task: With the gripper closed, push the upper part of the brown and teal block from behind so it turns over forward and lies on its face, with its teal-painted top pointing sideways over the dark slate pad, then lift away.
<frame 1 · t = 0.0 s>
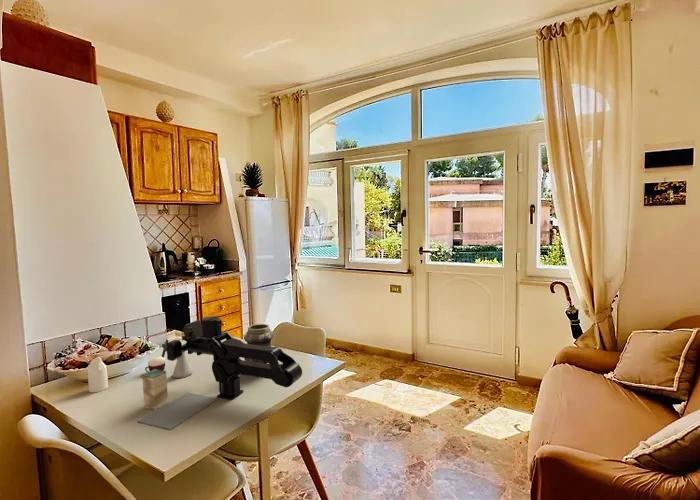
hand: (172, 341, 139), 17 cm above the table, tool horizontal, fingers open, 9 cm apart
flask: (182, 375, 150), on the table
white tapered piece: (98, 389, 139), on the table
cocoa: (158, 372, 153), on the table
apothecary jar: (260, 370, 153), on the table
brown and teal block: (156, 404, 125), on the table
slate pad: (179, 409, 122), on the table
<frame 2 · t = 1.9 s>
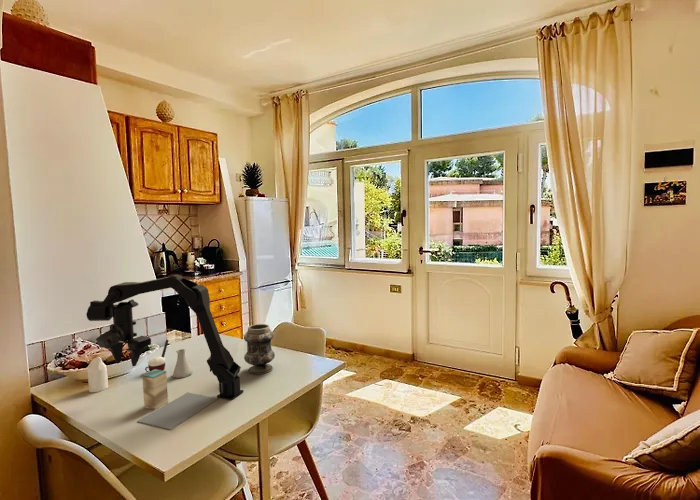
hand: (126, 364, 129), 12 cm above the table, tool pointing down, fingers open, 7 cm apart
nothing on the table moved.
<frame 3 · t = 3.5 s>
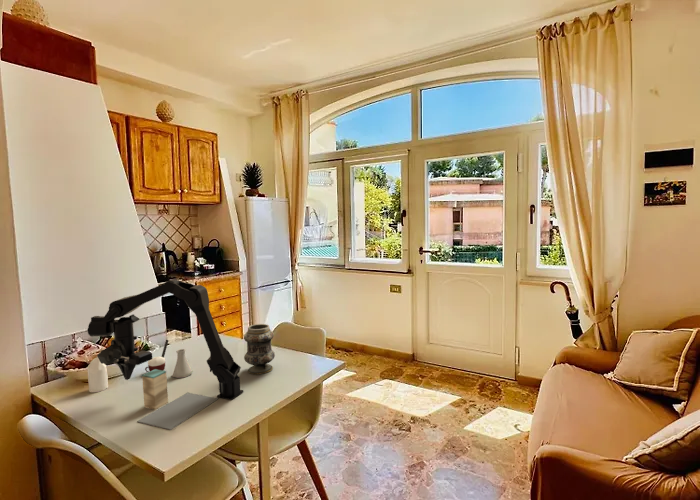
hand: (127, 379, 130), 7 cm above the table, tool pointing down, fingers closed
nothing on the table moved.
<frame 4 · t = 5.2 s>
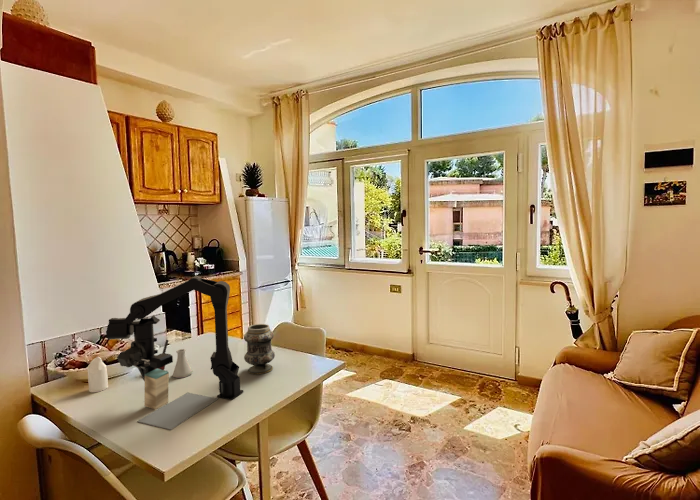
hand: (146, 382, 126), 7 cm above the table, tool pointing down, fingers closed
brown and teal block: (156, 404, 125), on the table, tilted 6°, touching gripper
everything else where it was.
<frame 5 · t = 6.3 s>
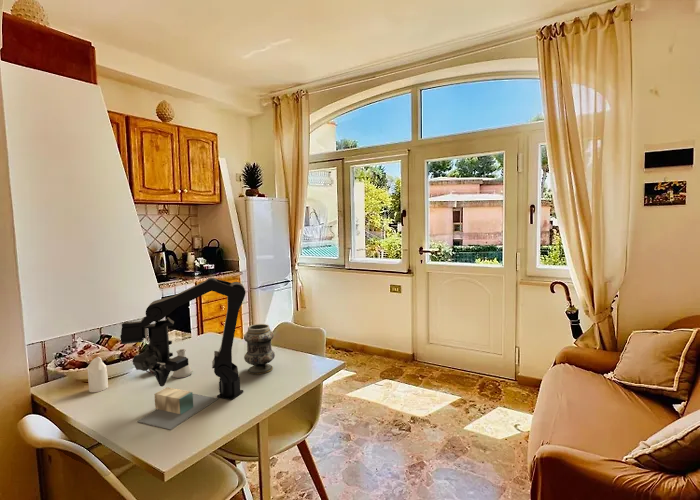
hand: (162, 386, 124), 7 cm above the table, tool pointing down, fingers closed
brown and teal block: (161, 397, 124), point 3 cm above the table, tilted 90°, touching slate pad
everything else where it was.
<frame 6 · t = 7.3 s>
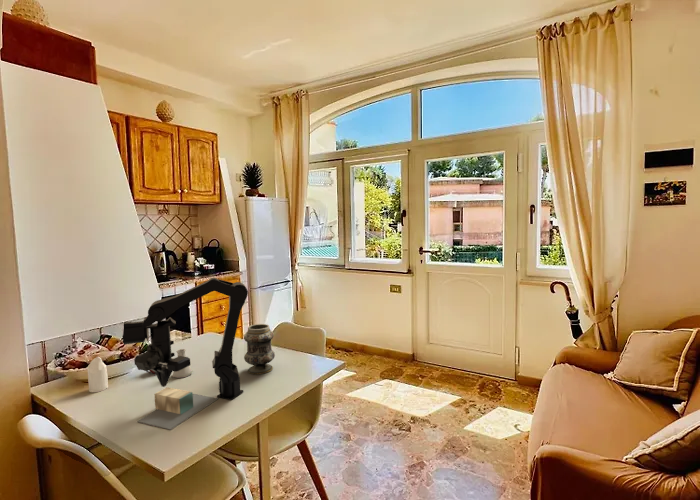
hand: (163, 386, 123), 7 cm above the table, tool pointing down, fingers closed
nothing on the table moved.
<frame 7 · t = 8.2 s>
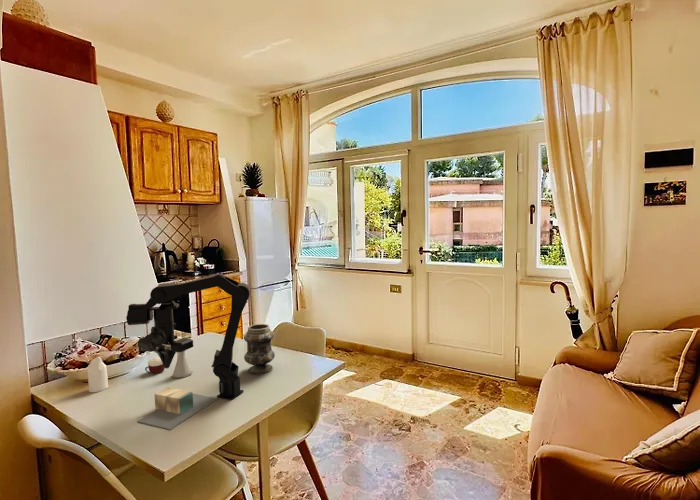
hand: (167, 368, 126), 12 cm above the table, tool pointing down, fingers closed
nothing on the table moved.
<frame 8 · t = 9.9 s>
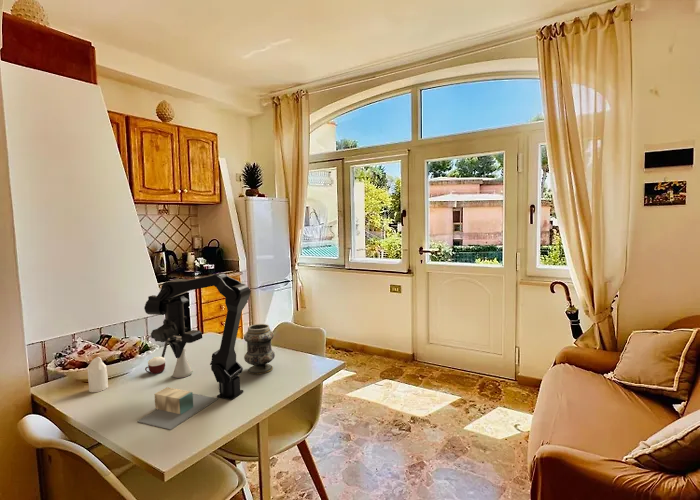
hand: (178, 357, 135), 12 cm above the table, tool pointing down, fingers closed
nothing on the table moved.
at the end: brown and teal block tilted 90°; brown and teal block inside the target area (0.6 cm from its centre), point 2.8 cm above the table; the gripper is holding nothing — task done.
